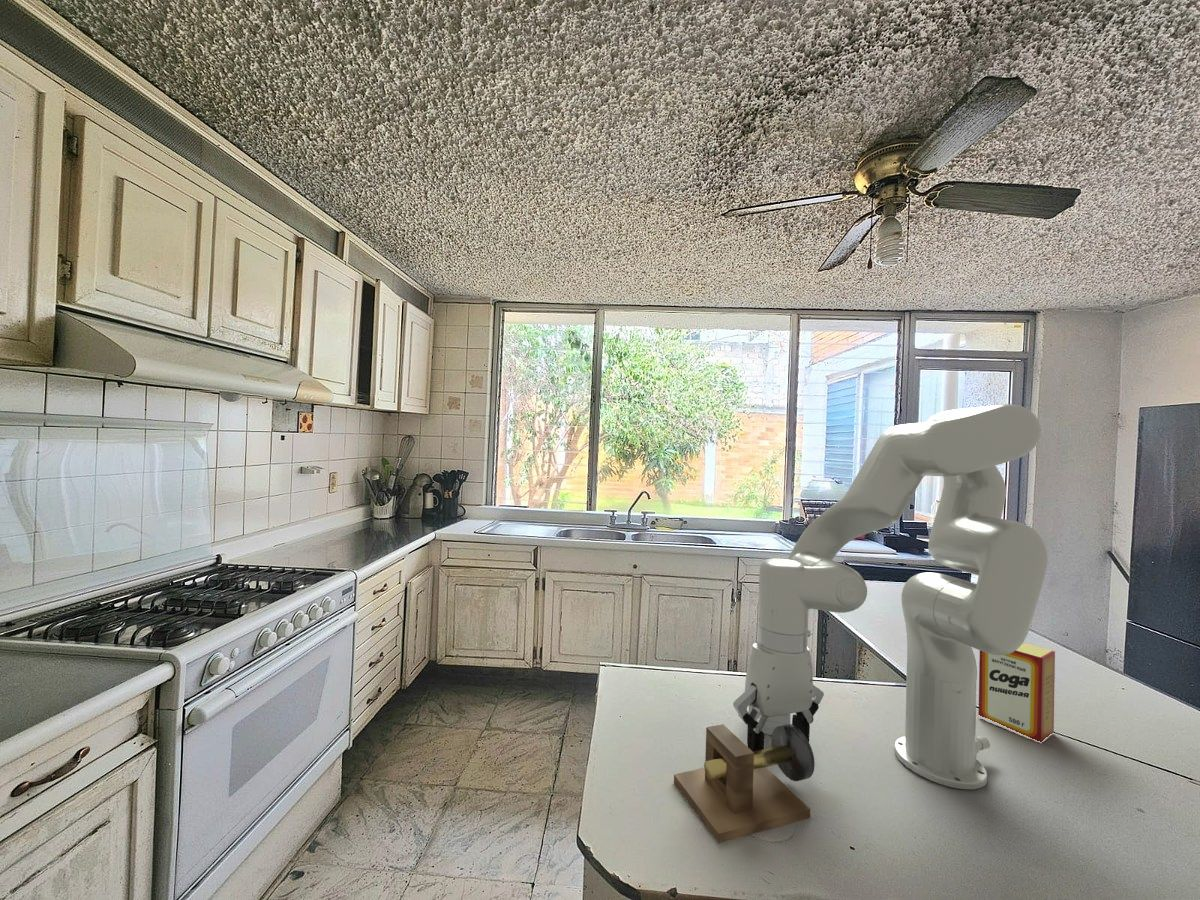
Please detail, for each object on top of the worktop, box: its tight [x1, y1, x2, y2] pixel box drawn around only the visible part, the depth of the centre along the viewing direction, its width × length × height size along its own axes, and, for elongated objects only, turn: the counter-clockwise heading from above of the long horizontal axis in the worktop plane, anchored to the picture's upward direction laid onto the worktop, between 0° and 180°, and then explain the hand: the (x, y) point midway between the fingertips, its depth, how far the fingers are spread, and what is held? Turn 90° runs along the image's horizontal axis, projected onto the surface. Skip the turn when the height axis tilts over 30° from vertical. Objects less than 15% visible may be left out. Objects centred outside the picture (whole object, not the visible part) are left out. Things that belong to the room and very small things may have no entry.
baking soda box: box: [978, 642, 1056, 742], centre depth 92 cm, size 10×6×16 cm
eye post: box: [673, 723, 811, 844], centre depth 69 cm, size 15×12×9 cm
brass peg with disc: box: [703, 723, 815, 782], centre depth 70 cm, size 17×7×7 cm, turn 110°
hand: (778, 748), depth 75 cm, fingers open, 8 cm apart
